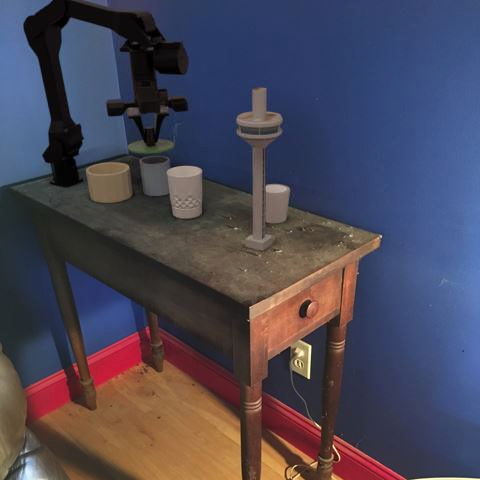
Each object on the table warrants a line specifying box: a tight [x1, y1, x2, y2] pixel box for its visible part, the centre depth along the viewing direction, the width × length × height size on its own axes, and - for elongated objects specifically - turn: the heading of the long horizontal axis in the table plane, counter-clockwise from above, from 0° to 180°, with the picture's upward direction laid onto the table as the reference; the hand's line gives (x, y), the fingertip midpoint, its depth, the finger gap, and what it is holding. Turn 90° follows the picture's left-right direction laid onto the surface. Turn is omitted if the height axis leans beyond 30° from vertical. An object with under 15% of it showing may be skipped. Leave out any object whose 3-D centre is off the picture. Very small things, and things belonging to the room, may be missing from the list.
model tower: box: [235, 87, 283, 252], centre depth 107 cm, size 8×8×30 cm
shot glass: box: [265, 183, 291, 224], centre depth 125 cm, size 7×7×7 cm
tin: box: [85, 161, 133, 204], centre depth 140 cm, size 10×10×7 cm
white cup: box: [167, 165, 203, 220], centre depth 128 cm, size 8×8×10 cm
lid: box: [127, 125, 176, 155], centre depth 137 cm, size 11×11×5 cm
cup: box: [138, 155, 172, 197], centre depth 142 cm, size 7×7×8 cm
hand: (150, 142), depth 137 cm, fingers closed on lid, 2 cm apart
